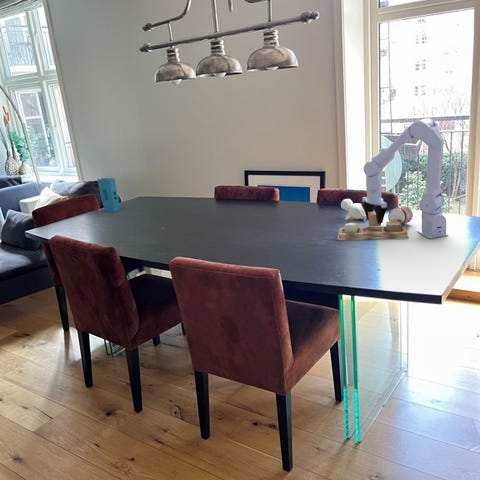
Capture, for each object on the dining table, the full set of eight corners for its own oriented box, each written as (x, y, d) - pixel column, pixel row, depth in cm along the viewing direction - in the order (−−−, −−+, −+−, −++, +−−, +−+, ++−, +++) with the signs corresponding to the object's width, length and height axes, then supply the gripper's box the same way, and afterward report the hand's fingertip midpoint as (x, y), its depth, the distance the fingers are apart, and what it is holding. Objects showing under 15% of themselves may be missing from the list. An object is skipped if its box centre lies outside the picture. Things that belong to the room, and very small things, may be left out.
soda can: (398, 225, 202) (390, 227, 192) (393, 209, 202) (385, 210, 193) (415, 220, 198) (408, 223, 188) (410, 204, 198) (403, 205, 188)
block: (103, 211, 294) (96, 179, 289) (109, 209, 298) (103, 178, 292) (114, 212, 287) (108, 180, 281) (121, 210, 291) (115, 178, 285)
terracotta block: (380, 222, 201) (380, 211, 199) (381, 225, 196) (380, 214, 195) (368, 223, 202) (368, 211, 200) (368, 226, 197) (368, 214, 196)
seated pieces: (399, 230, 189) (399, 221, 188) (400, 234, 185) (400, 224, 183) (345, 232, 195) (344, 223, 194) (344, 236, 190) (344, 226, 189)
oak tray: (406, 230, 191) (406, 225, 190) (408, 238, 182) (408, 232, 181) (338, 232, 198) (338, 227, 197) (337, 240, 189) (337, 234, 188)
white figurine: (371, 223, 216) (345, 208, 225) (376, 207, 212) (350, 193, 220) (360, 228, 211) (334, 213, 220) (365, 212, 206) (339, 197, 215)
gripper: (392, 190, 189) (393, 223, 193) (371, 185, 202) (372, 216, 206) (377, 193, 187) (378, 226, 191) (357, 188, 200) (358, 219, 204)
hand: (374, 221), depth 199 cm, fingers closed on terracotta block, 7 cm apart
